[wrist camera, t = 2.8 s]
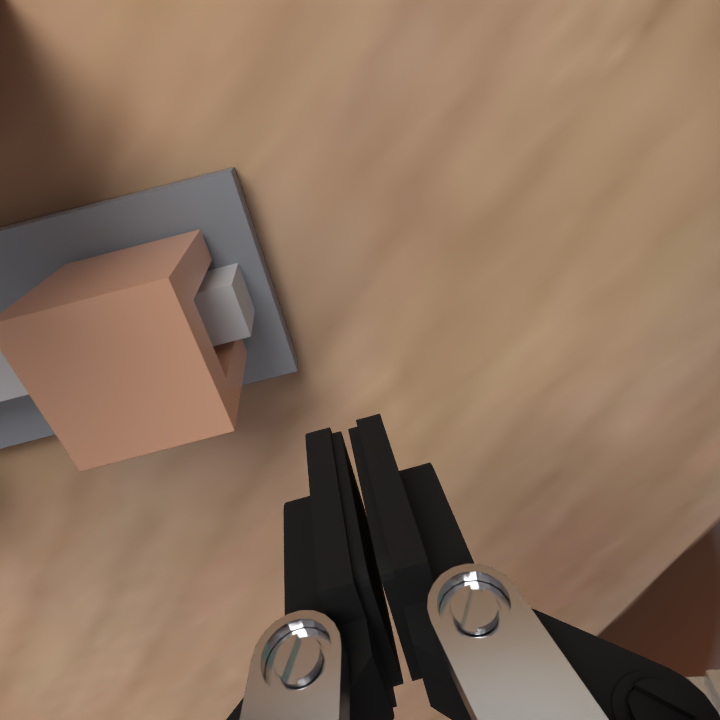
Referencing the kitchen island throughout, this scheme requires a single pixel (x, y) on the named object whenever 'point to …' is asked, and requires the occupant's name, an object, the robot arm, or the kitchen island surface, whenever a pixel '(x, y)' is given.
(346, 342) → the kitchen island surface
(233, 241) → the track
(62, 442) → the slider
